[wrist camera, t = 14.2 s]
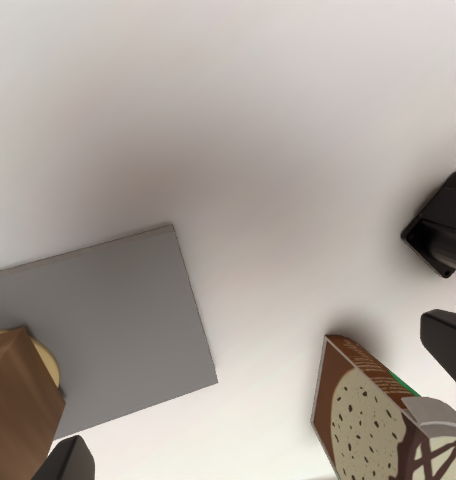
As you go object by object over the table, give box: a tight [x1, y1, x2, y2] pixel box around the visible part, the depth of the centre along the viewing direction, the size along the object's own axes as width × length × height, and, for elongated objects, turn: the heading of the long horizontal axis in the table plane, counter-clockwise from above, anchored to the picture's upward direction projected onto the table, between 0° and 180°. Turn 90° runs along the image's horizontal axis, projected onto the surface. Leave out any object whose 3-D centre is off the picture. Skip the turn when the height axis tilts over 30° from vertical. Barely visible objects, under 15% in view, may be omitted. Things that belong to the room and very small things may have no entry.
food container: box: [310, 335, 456, 480], centre depth 22 cm, size 12×6×10 cm, turn 177°
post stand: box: [0, 225, 218, 441], centre depth 17 cm, size 16×12×5 cm
